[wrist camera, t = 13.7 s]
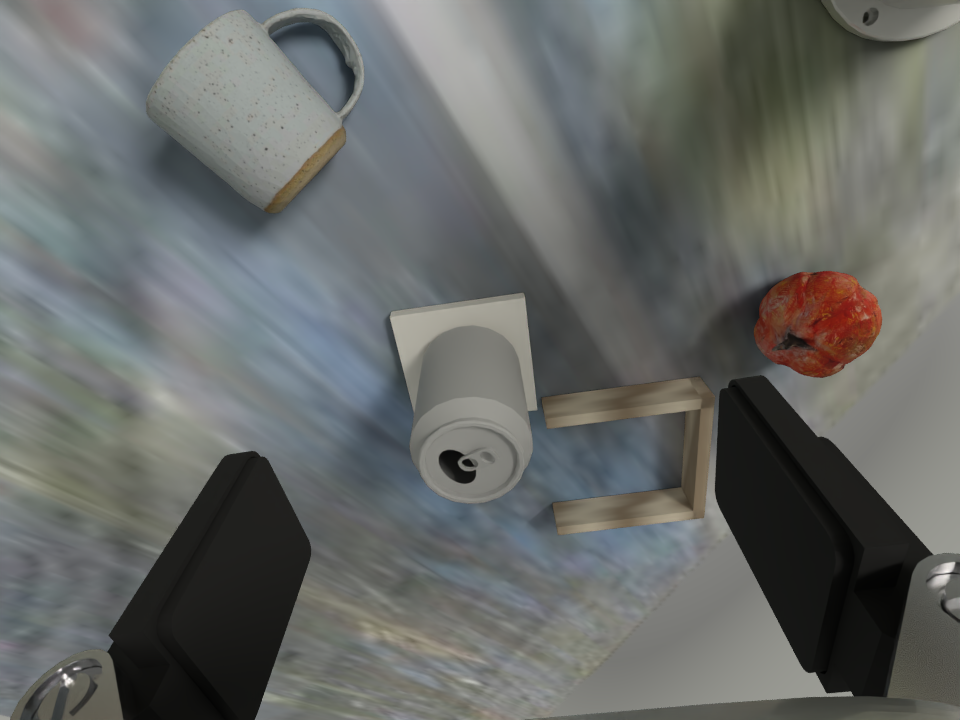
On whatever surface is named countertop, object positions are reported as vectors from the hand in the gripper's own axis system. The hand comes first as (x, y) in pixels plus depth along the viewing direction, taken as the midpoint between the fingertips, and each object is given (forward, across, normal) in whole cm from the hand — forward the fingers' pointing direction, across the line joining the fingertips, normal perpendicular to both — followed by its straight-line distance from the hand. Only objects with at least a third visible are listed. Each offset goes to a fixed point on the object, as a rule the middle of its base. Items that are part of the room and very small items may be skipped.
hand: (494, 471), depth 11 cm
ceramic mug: (+28, +11, -7) cm, 31 cm away
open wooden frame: (+28, -8, +25) cm, 38 cm away
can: (+27, +4, +13) cm, 30 cm away
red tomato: (+29, -21, +13) cm, 38 cm away
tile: (+28, +4, +13) cm, 31 cm away
